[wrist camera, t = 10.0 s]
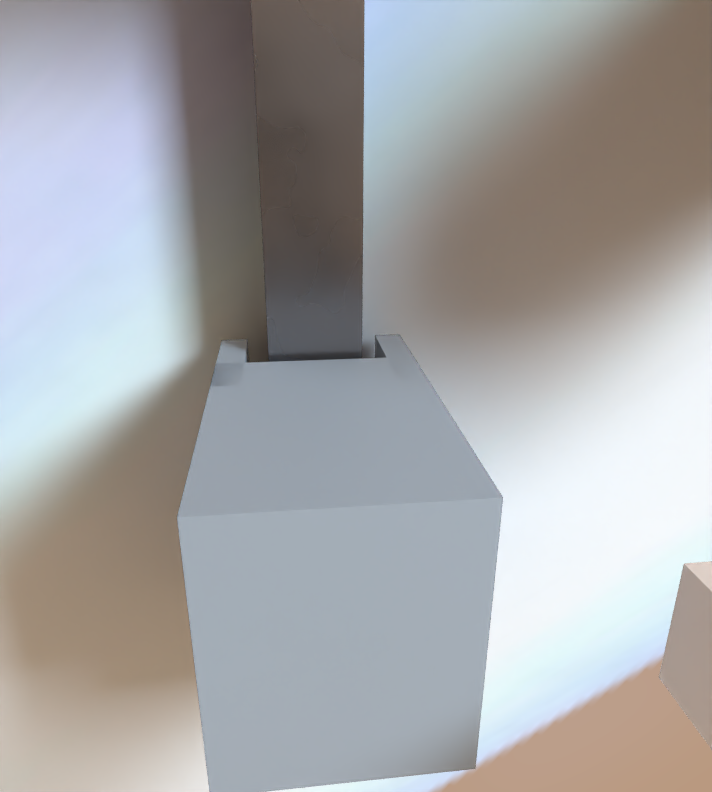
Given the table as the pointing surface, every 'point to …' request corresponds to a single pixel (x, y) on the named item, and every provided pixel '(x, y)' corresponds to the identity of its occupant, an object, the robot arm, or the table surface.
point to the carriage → (335, 573)
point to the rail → (311, 174)
